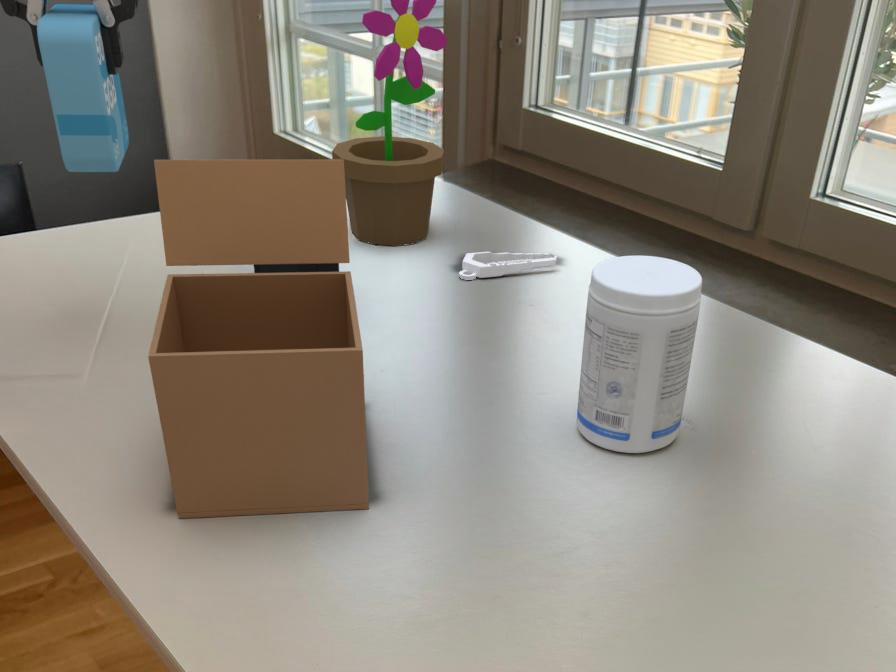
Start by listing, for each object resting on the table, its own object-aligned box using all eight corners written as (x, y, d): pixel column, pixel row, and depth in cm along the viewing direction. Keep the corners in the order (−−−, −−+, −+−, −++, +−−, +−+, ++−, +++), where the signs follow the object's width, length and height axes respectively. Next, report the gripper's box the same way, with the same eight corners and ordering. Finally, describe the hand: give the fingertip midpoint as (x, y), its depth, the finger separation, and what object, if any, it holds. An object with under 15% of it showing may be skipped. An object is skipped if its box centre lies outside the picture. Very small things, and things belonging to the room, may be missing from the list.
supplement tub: (657, 405, 96) (683, 251, 87) (693, 453, 89) (725, 291, 80) (561, 411, 95) (577, 255, 85) (590, 461, 88) (610, 296, 78)
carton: (178, 518, 78) (147, 356, 69) (191, 423, 90) (167, 274, 81) (369, 509, 80) (362, 349, 72) (357, 416, 92) (350, 271, 84)
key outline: (544, 258, 127) (545, 244, 126) (560, 271, 124) (561, 257, 123) (448, 267, 124) (449, 253, 122) (462, 281, 120) (462, 267, 119)
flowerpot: (379, 259, 125) (371, -27, 106) (315, 228, 133) (296, -42, 114) (465, 237, 132) (472, -32, 113) (400, 210, 140) (396, -46, 121)
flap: (153, 159, 78) (154, 160, 79) (166, 265, 81) (167, 266, 81) (343, 159, 80) (343, 160, 81) (349, 262, 83) (349, 263, 83)
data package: (117, 176, 91) (90, 23, 83) (65, 176, 90) (33, 22, 82) (130, 143, 100) (107, 2, 92) (83, 143, 99) (56, 1, 91)
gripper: (136, -165, 83) (168, 66, 94) (-45, -175, 81) (9, 63, 92) (126, -163, 78) (161, 83, 88) (-69, -174, 75) (-9, 79, 86)
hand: (83, 71), depth 90 cm, fingers closed on data package, 4 cm apart
